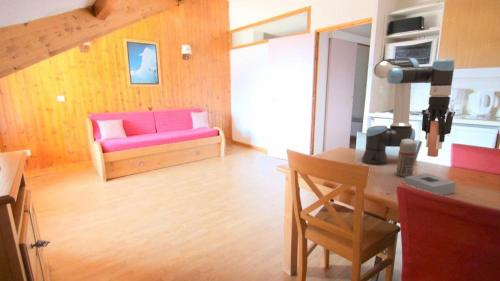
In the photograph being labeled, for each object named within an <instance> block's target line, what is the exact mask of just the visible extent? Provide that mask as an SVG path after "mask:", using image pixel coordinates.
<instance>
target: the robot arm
mask: <svg viewBox="0 0 500 281" xmlns="http://www.w3.org/2000/svg"><path fill="white" fill-rule="evenodd" d="M454 70H455V59H452V58H445V59H444V58H442V59H435V60H434V61H433V62H432V65H431V66H429V65H428V66H420V64H419V61H418V59H416V58H414V57H401V58H400V57H399V58H386V59H383V60H381V61H379V62H378V63H376V64H375V65H374V68H373V74H374V75H375V76H376V77H377V78H379V79H386V81H387V83H388V84H391V85H392V84H393V85H394V94H393V97H394V100H393V117H392V118H393V119H392V123H390V126H389V127H388V126H387V125H375V126H374V125H373V126H370V127H368V128H367V129H366V134H365V138H366V139H365V150H364V152H363V155H362V157H361V162H362V161H363V162H362V163H364V162H365V163H364V164H367V165H373V166H385V165H387V164H388V161H389V159H388V157H387V152H386V148H387V147H390V148H392V147H393V148H396V147H397V148H400V144H401V140H404V139H411V140H414V141H415V139H416V131H415V128H413V127H412V124H411V123H410V111H411V93H412V92H411V90H412V84H430V85H429V86H430V88H429V97H428V103H427V104H428V107H427V108H426V109H422V110H421V113H422V114H421V115H422V121H421V131H422V132H425V138H424V139H425V141H426V142H425V148H428V144H429V135H430V126H431V121H436V120H437V121H438V125H439V134H438V135H437V141H436V149H439V150H442V149H443V143H444V142H445V137H446V135H450V134H451V131H452V126H453V119H454V116H455V115H456V112H455V111H453V110H451V109H450V108H449V105H450V102H451V94H452V85H453V78H454Z"/></svg>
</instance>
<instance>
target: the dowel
mask: <svg viewBox="0 0 500 281" xmlns="http://www.w3.org/2000/svg"><path fill="white" fill-rule="evenodd" d="M438 134H439V125H438V120H435V121H431V126H430V135H429V144H428V147H427V153H426V155H427V156H428V157H432V158H437V157H438V156H439V150H440V149H436V141H437V135H438Z"/></svg>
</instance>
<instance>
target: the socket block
mask: <svg viewBox="0 0 500 281" xmlns="http://www.w3.org/2000/svg"><path fill="white" fill-rule="evenodd" d="M404 183H405V184H408V185H411V186H414V187H416V188H419V189H422V190H426V191H429V192H432V193H436V194H440V195H442V196H447V195H450V194H454V193H455V192H456V191H455V190H456V186H457V185H456V183H457V182H455V181H453V180H449V179H447V178H444V177H440V176H437V175H433V174H431V173H427V172H424V173H421V174H419V173H418V174H414V175H412V176H407V177H404Z"/></svg>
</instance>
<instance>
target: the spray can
mask: <svg viewBox="0 0 500 281" xmlns="http://www.w3.org/2000/svg"><path fill="white" fill-rule="evenodd" d="M417 148H418V142H417V140H415V139H414V140H411V139H404V140H401V144H400V147H399V150H398V155H397V163H396V173H395V174H396V175H397V176H398V177H399V176H400V177H403V178H405V177H407V176H412V175H413V174H414V168H415V163H416V157H417Z"/></svg>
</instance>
